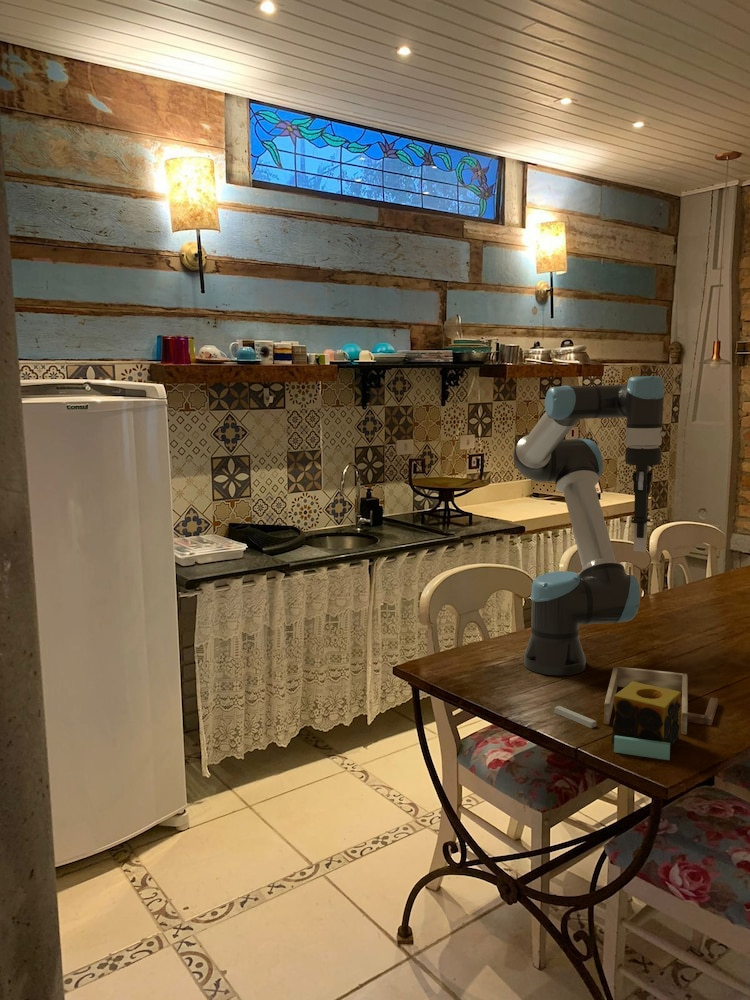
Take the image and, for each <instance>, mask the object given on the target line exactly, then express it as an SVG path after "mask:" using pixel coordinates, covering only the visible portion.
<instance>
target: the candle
mask: <svg viewBox="0 0 750 1000" xmlns="http://www.w3.org/2000/svg"><path fill="white" fill-rule="evenodd" d="M681 698H682V694H681V692H679V691H675V690H670V689H666V688H662V687H657V686H652V685H647V684H642V683H638V682H634V681H632V682H630V683H629V685H627V686H626V687H622V689H621V690H619V691H618V692H616V694H615V695H614V705H613V707H614V708H613V709H614V719H613V721H612V726H611V727H612V732H611V743H612V744H614V736H615V735H616V736H623V737H630V738H638V739H645V740H652V741H660V742H667V743H670V748H671V747H672V746H673V745H675V742H677V741H678V740H679V737H680V736H679V735H680V734H679V732H680V724H679V722H680V720H679V718H680V717H679V715H680V713H679V711H680V708H681Z"/></svg>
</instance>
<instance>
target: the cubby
mask: <svg viewBox="0 0 750 1000" xmlns="http://www.w3.org/2000/svg"><path fill="white" fill-rule="evenodd" d="M632 681H634V682H638V683H642V684H647V685H652V686H657V687H662V688H666V689H670V690H675V691H679V692H681V723H680V724H681V725H680V726H681V727H680V728H681V729H680V731H681V732H680V733H681V735H686V736H687V734H688V721H687V713H688V673H681V672H672V671H663V670H655V669H654V670H653V669H645V668H636V667H634V668H633V667H628V666H627V667H626V666H625V667H624V666H613V668H612V672H611V677H610V679H609V684H608V688H607V692H606V695H605V701H604V706H603V707H604V708H603V710H604V711H603V713H604V714H603V725H610V722H611V717H612V712H613V709H614V708H613V707H614V695H615V694H616V693H617V691H618V687H620V688H625V687H626V686H627V685H629V683H630V682H632Z"/></svg>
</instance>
